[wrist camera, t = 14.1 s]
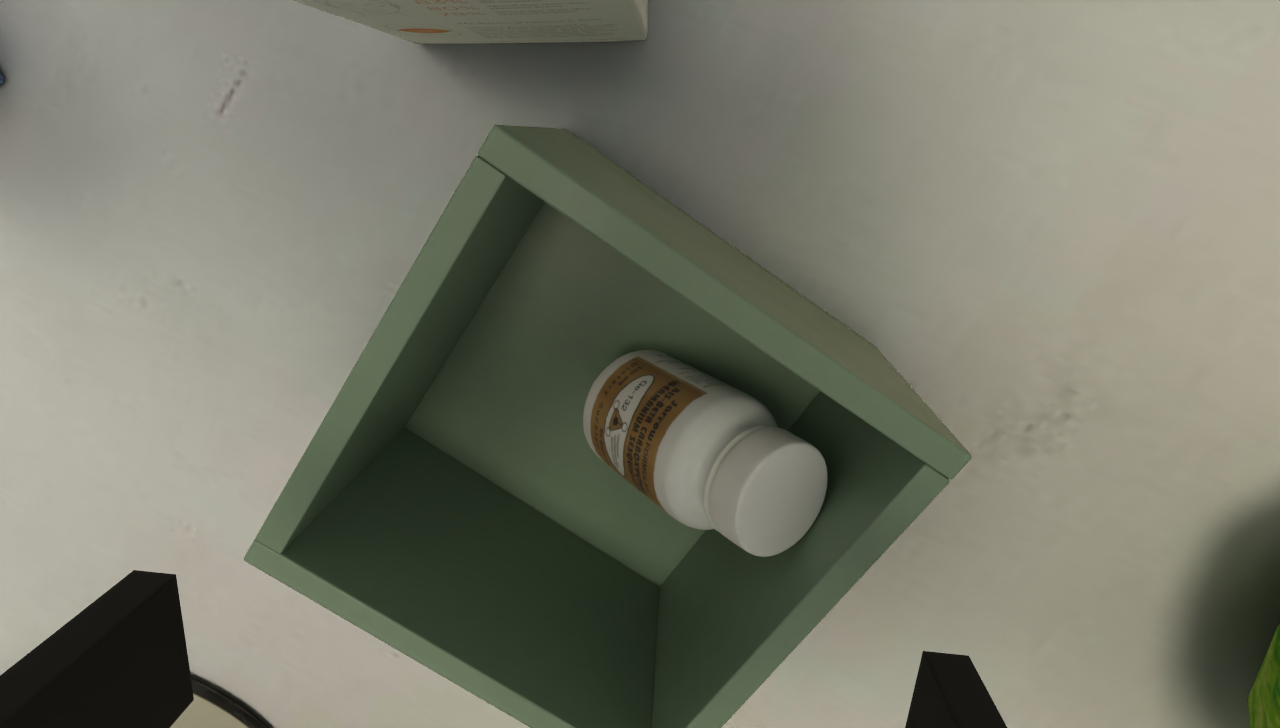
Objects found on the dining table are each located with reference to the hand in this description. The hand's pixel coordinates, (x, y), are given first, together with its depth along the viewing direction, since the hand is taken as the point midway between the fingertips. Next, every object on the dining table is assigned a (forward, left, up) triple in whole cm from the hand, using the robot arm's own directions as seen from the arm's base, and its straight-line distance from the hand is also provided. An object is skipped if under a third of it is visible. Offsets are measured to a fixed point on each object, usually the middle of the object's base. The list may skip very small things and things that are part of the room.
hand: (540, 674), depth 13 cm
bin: (0, 0, -16) cm, 16 cm away
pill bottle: (0, +1, -14) cm, 14 cm away
